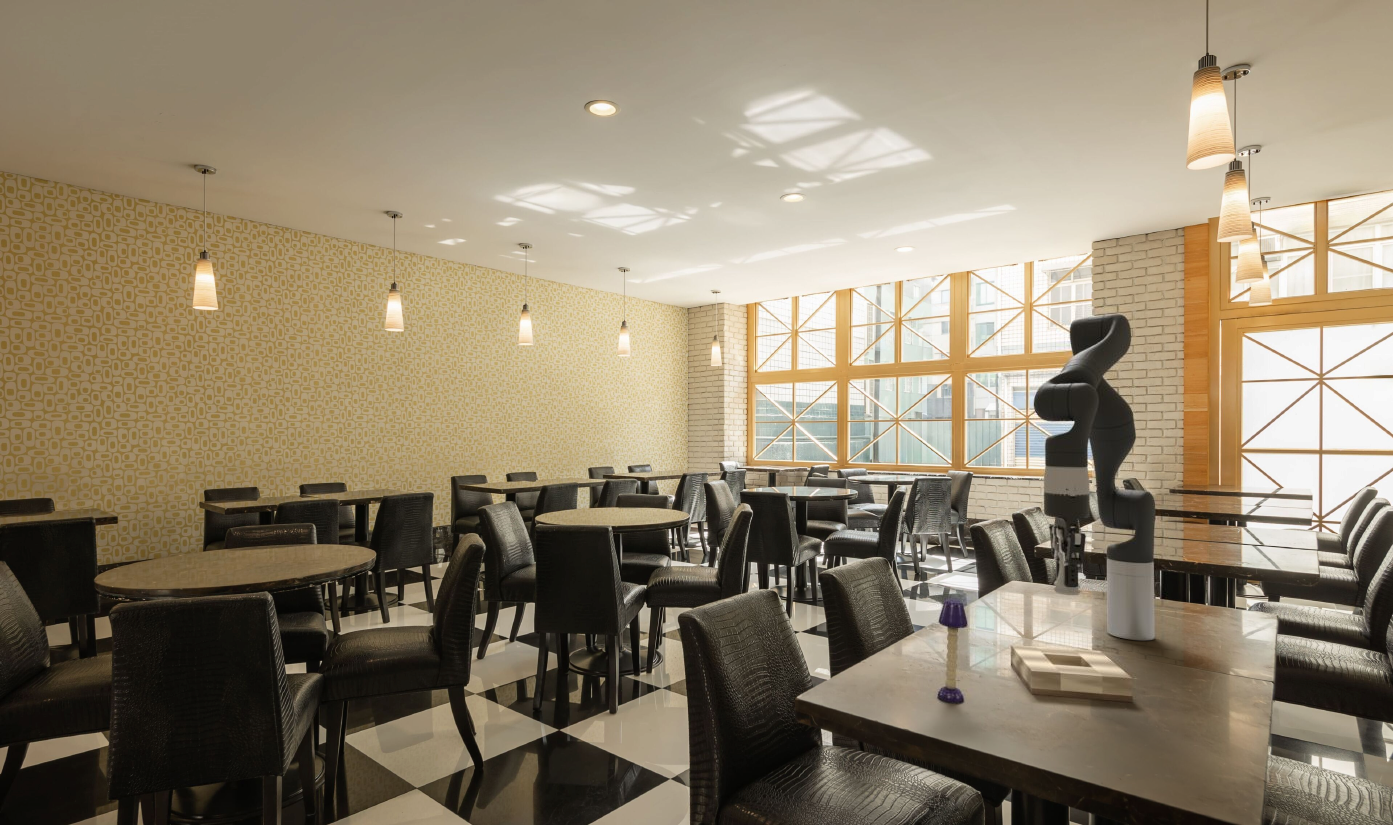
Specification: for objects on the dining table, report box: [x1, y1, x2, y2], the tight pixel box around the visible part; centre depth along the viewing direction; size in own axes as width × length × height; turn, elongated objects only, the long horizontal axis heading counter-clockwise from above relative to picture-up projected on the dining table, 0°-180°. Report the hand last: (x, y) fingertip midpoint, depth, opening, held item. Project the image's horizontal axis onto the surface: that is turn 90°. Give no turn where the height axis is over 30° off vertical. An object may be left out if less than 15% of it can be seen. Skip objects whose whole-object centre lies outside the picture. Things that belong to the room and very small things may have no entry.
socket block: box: [1010, 644, 1134, 703], centre depth 130 cm, size 16×16×4 cm
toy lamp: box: [937, 598, 968, 704], centre depth 121 cm, size 5×5×17 cm
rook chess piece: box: [1053, 551, 1081, 596], centre depth 131 cm, size 4×4×8 cm
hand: (1066, 583), depth 131 cm, fingers closed on rook chess piece, 4 cm apart
